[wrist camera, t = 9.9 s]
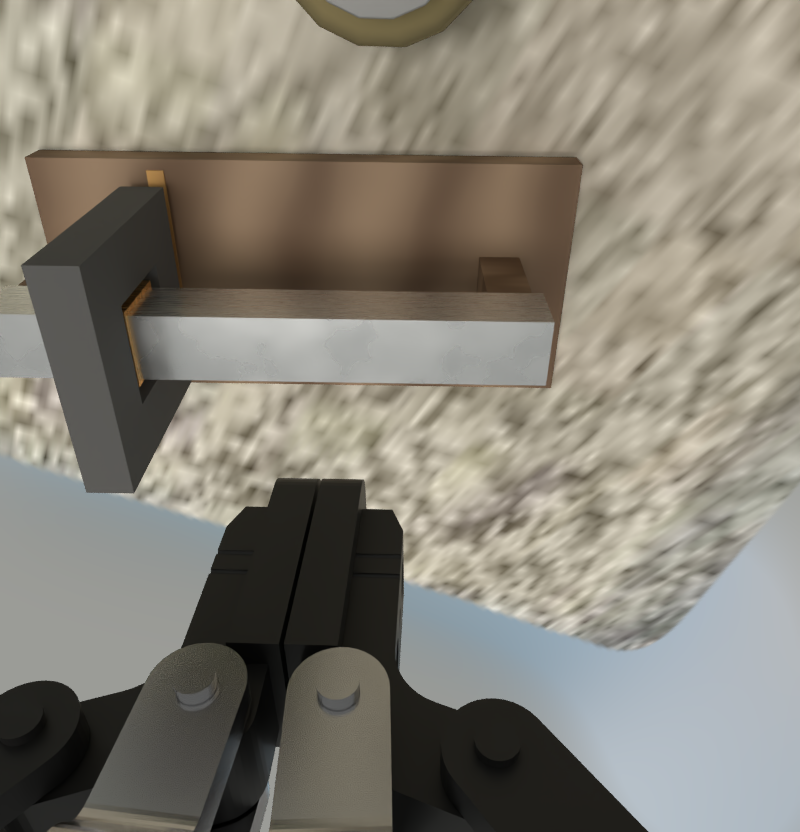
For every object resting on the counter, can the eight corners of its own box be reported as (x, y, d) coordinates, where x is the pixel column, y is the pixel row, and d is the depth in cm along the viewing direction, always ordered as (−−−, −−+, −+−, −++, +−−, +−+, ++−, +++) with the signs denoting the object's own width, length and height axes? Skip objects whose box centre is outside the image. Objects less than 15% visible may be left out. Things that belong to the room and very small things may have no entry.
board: (576, 157, 35) (604, 192, 30) (546, 374, 41) (565, 433, 36) (38, 150, 35) (-25, 183, 30) (93, 367, 41) (49, 425, 36)
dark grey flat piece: (163, 187, 33) (78, 266, 25) (194, 375, 39) (134, 493, 30) (119, 186, 33) (21, 265, 25) (157, 375, 39) (86, 492, 30)
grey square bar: (543, 286, 32) (556, 319, 29) (534, 355, 34) (545, 393, 31) (7, 278, 32) (-33, 310, 29) (28, 347, 34) (-8, 384, 31)
